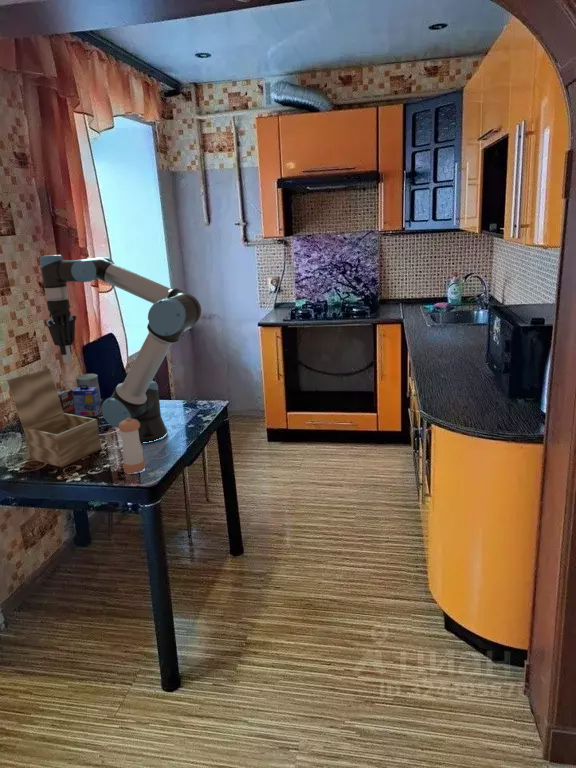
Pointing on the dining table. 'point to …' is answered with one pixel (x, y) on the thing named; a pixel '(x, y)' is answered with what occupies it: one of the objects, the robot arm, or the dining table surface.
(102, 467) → the dining table surface
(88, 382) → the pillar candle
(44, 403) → the lid flap
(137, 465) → the salt shaker
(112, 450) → the dining table surface
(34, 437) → the wooden box
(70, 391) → the supplement box
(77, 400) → the ink cartridge box
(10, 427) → the dining table surface
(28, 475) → the dining table surface
